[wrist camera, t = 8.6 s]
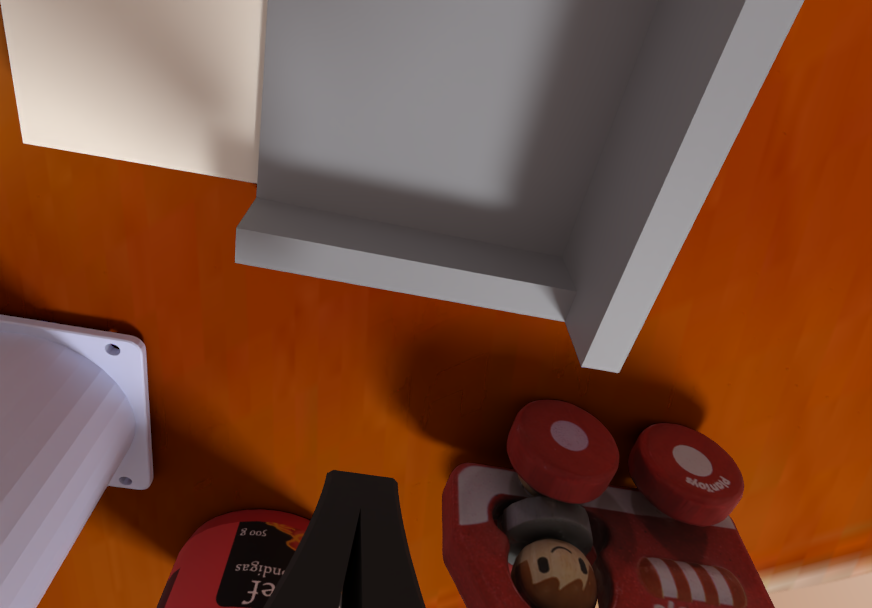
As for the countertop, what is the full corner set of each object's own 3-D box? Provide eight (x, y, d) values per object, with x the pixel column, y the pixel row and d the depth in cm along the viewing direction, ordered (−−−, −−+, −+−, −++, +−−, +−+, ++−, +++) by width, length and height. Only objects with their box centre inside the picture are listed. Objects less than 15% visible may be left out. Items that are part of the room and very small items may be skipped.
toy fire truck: (467, 379, 22) (494, 664, 14) (750, 432, 24) (937, 715, 15) (424, 495, 26) (424, 780, 17) (674, 534, 28) (790, 810, 19)
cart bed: (270, 203, 18) (210, 304, 13) (307, -325, 12) (221, -520, 7) (568, 261, 19) (619, 372, 14) (742, -189, 13) (938, -271, 8)
